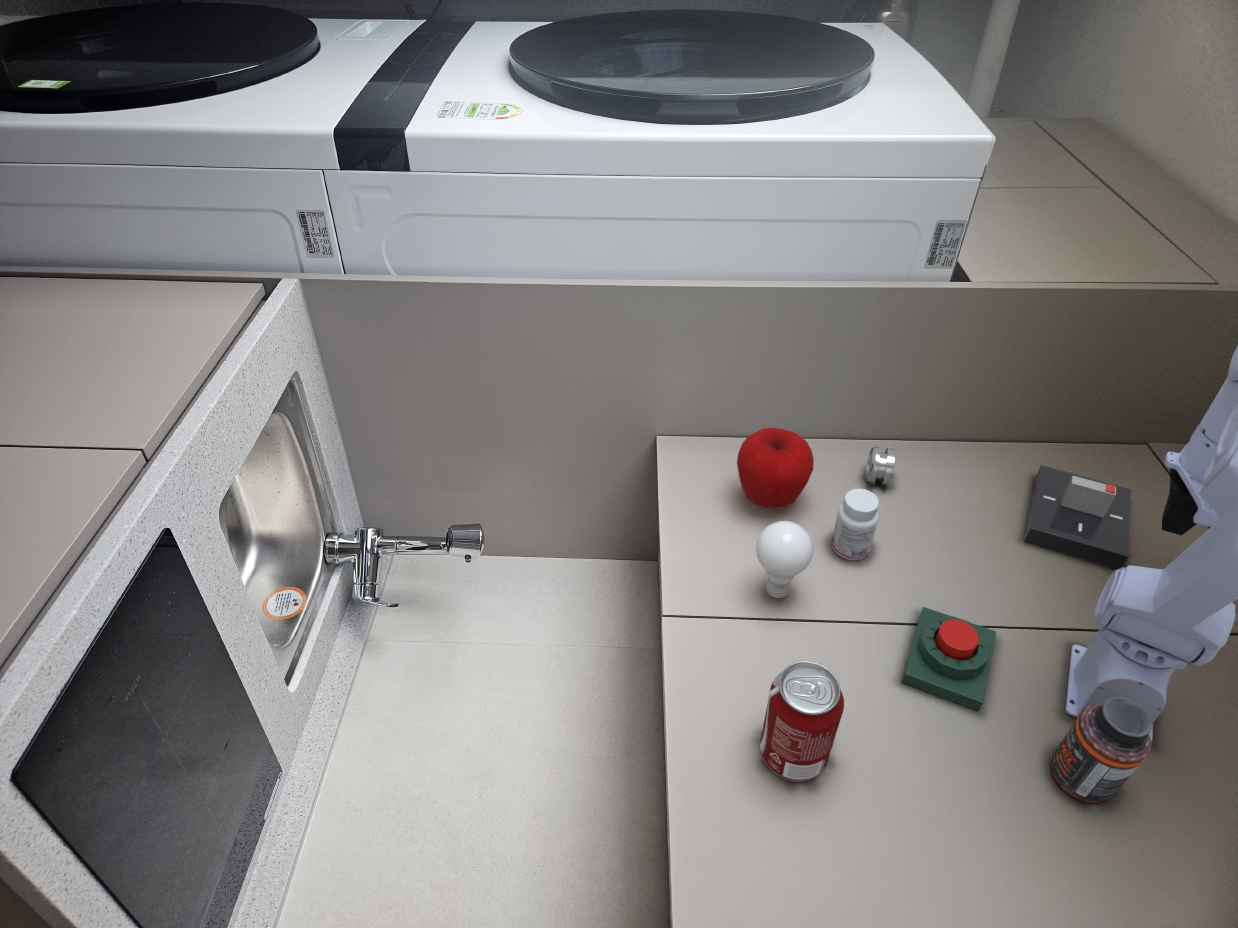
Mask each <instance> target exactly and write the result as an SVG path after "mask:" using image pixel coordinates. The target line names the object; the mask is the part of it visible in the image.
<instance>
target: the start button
mask: <svg viewBox="0 0 1238 928" xmlns="http://www.w3.org/2000/svg"><path fill="white" fill-rule="evenodd" d="M978 642H979V637H978V634H977V632H976V631H975V629H974V628H973V627H972V626H970V625H969V624H967V623H965V622H963V621H960V620H948V621H945V622H944V623H943V624H942V625H941V626H940V629H939V631H938V633H937V636H936V644H937V646H938V648H939V650H940V651H941V652H942V653H943V654H945V655H946V656H948V657H950V658H953V659H957V660H964V659H967V658H969V657H971V656H972V655H973V653H974V651H975V649H976V647H977V645H978Z"/></svg>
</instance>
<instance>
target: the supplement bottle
mask: <svg viewBox="0 0 1238 928" xmlns="http://www.w3.org/2000/svg"><path fill="white" fill-rule="evenodd" d="M1151 729H1152V722H1151V718H1150V716H1149V714H1148V713H1147V712H1146V710H1145V709H1144V708H1143V707H1141V706H1140V705H1139V704H1137V703H1136V702H1134V701H1132V700H1130V699H1127V698H1124V697H1112V698H1109V699H1107V700H1106V701H1105V702H1104V703H1097V704H1093V705H1090V706H1088V707H1087V708H1085V709H1084V710H1083V711H1082V713H1081V714H1080V715H1079V717H1078V718H1076V720H1075V721H1074V722H1073V723H1072V725H1071V727H1070V728H1069V729H1068V731H1067V732H1066V734H1065V735H1064V737H1063V738H1062V739H1061V741H1060V742H1059V744H1058V745H1057V746H1056V747H1055V750H1054V751H1053V753H1052V755H1051V758H1050V763H1049V765H1050V771H1051V773H1052V777H1053V778H1054V781H1055V782H1056V783H1057V785H1058V786H1059V787H1061V789H1062V790H1063V791H1064V792H1065V793H1067V794H1068V795H1070V796H1071V797H1072V798H1075V799H1076V800H1078V801H1081V802H1084V803H1087V804H1101V803H1104V802H1106V801H1108V800H1109V799H1112V798H1113V796H1115V794H1116V793H1117V792H1118V791H1119V790H1120V789H1121V787H1123V785H1124V784H1125V783H1126V782H1127V781H1128V780H1129V778H1130V777H1131V776H1132V775H1133V773H1135V771H1136V770H1137V769H1138V768H1139V767H1140V766H1141V764H1142V763H1143V762H1144V761H1145V759H1146V758H1147V757H1148V755H1149V754H1150V751H1151V747H1152V741H1151V739H1150V735H1149V732H1150V731H1151Z"/></svg>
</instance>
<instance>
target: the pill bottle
mask: <svg viewBox="0 0 1238 928" xmlns="http://www.w3.org/2000/svg"><path fill="white" fill-rule="evenodd" d="M879 504H880V500H879V498H878V496H877V495H876V494H875V493H874V492H872V491H870V490H868V489H864V488H854V489H850V490H849V491H847V493H846V494H845V495H844V500H843V503H842V504H841V505H840V506H839V509H838V511H837V516H836V521H835V525H834V529H833V533H832V537H831V549H832V550H833V552H835V554H837V556H839V557H841V558H842V559H845V560H849V561H861V560H863V559H865V558H866V557H867V556H868V555H869V553H870V552H871V547H872V544H873V540H874V537H875V536H874V535H875V534H876V533H875V532H876V529H877V525H878V522H879V512H878V510H879Z"/></svg>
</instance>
